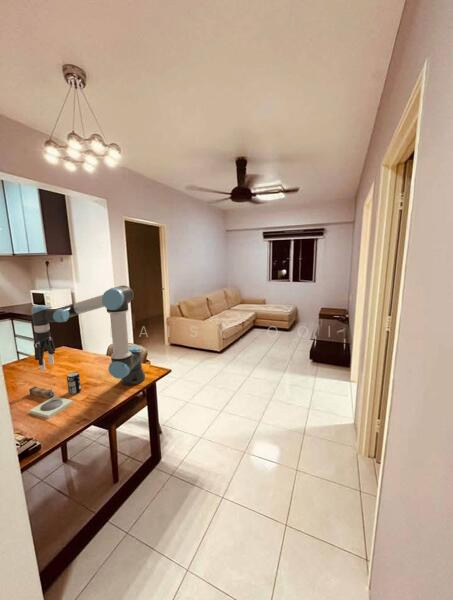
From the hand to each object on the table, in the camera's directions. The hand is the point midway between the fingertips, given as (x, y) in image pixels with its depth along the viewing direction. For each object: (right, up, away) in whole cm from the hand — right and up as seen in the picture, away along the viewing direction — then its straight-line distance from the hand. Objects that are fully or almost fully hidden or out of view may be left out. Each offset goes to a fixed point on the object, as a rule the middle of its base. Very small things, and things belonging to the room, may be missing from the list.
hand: (47, 366), depth 153 cm
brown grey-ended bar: (0, -16, -4) cm, 17 cm away
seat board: (+15, -18, -17) cm, 29 cm away
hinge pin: (+8, -17, -7) cm, 20 cm away
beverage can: (+18, -16, -1) cm, 24 cm away
